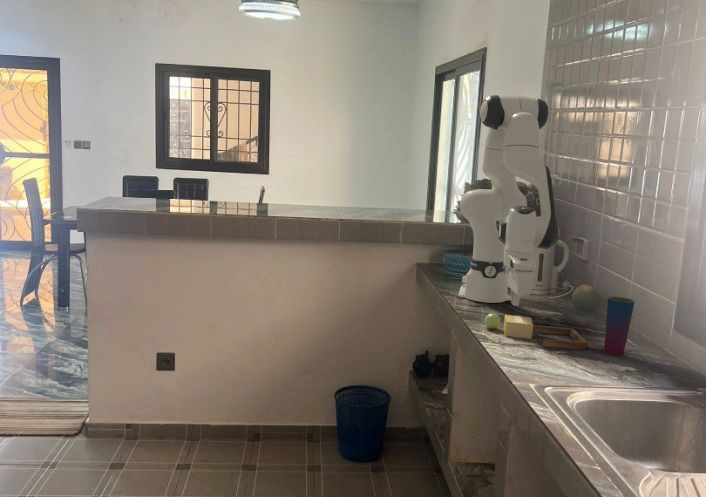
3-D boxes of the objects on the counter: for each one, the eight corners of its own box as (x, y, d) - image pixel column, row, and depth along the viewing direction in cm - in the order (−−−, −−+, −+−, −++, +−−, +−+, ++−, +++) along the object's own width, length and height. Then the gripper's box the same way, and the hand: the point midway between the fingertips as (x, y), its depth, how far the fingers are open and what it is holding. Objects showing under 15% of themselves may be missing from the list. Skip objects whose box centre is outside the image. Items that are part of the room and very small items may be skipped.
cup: (629, 357, 173) (637, 303, 170) (603, 354, 174) (610, 301, 172) (624, 350, 180) (631, 297, 177) (598, 347, 181) (605, 295, 178)
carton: (503, 328, 194) (504, 314, 193) (528, 331, 193) (530, 317, 192) (504, 336, 186) (506, 321, 185) (531, 339, 185) (533, 324, 184)
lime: (482, 325, 195) (484, 311, 194) (497, 326, 195) (499, 312, 194) (485, 330, 190) (486, 315, 190) (500, 331, 190) (502, 316, 189)
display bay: (531, 331, 192) (531, 325, 192) (572, 333, 192) (573, 328, 192) (543, 346, 178) (544, 340, 178) (587, 349, 178) (588, 343, 178)
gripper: (501, 254, 205) (497, 297, 207) (515, 265, 184) (511, 312, 186) (521, 255, 205) (517, 298, 206) (537, 266, 184) (533, 313, 186)
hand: (515, 304), depth 196 cm, fingers closed
